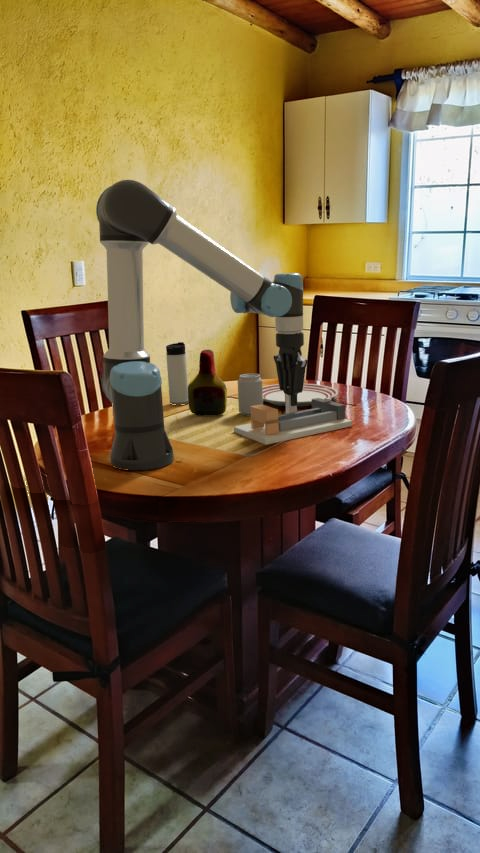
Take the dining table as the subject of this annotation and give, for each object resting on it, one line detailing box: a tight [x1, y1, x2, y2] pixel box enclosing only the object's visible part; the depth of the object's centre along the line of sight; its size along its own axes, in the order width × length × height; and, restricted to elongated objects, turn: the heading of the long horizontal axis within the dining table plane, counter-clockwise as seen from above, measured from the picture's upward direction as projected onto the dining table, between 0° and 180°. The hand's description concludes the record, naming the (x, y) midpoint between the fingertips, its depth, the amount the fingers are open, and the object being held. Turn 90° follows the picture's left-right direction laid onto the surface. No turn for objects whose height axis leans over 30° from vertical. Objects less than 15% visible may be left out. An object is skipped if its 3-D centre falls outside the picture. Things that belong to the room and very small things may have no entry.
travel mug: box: [165, 341, 189, 405], centre depth 218 cm, size 6×7×20 cm
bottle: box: [188, 349, 228, 417], centre depth 201 cm, size 12×6×20 cm, turn 77°
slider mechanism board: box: [233, 398, 353, 445], centre depth 183 cm, size 28×16×6 cm, turn 121°
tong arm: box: [278, 408, 321, 421], centre depth 185 cm, size 17×2×2 cm, turn 121°
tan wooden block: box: [250, 404, 279, 435], centre depth 176 cm, size 4×8×6 cm, turn 31°
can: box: [237, 373, 264, 417], centre depth 202 cm, size 8×8×12 cm
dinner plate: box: [262, 383, 339, 407], centre depth 219 cm, size 27×27×3 cm
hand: (291, 416), depth 186 cm, fingers closed
